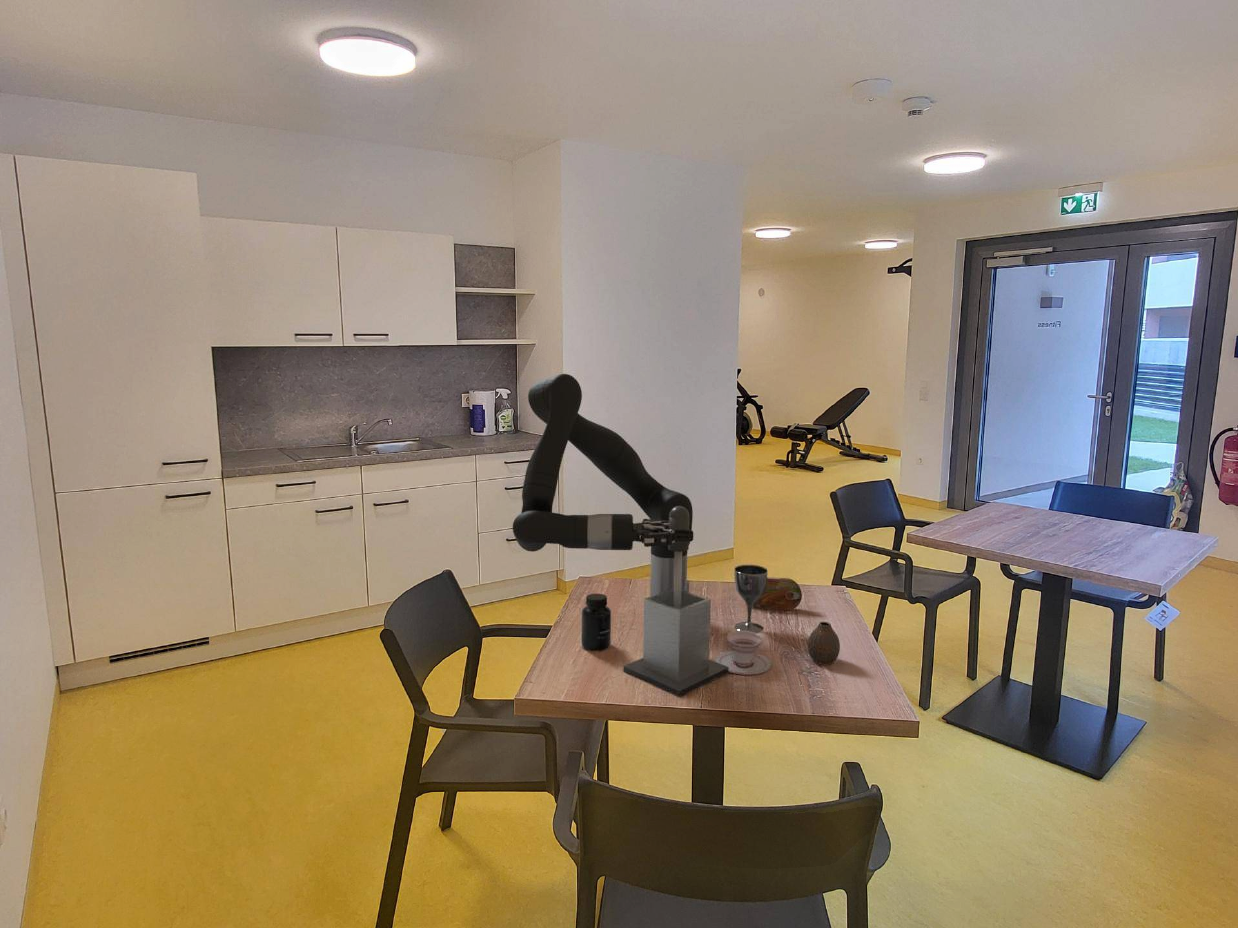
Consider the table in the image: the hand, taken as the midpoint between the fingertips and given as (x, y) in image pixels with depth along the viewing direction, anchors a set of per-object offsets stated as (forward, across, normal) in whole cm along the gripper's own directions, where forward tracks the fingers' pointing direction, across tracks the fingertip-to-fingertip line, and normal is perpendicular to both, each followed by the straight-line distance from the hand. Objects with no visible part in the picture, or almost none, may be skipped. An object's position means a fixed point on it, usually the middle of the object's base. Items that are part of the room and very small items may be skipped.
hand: (691, 532), depth 157 cm
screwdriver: (-3, 0, +19) cm, 19 cm away
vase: (+31, +6, +31) cm, 44 cm away
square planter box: (-3, 0, +31) cm, 31 cm away
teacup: (+12, +5, +31) cm, 34 cm away
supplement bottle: (-20, +13, +31) cm, 39 cm away
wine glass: (+17, +25, +31) cm, 44 cm away
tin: (+26, +40, +31) cm, 57 cm away
